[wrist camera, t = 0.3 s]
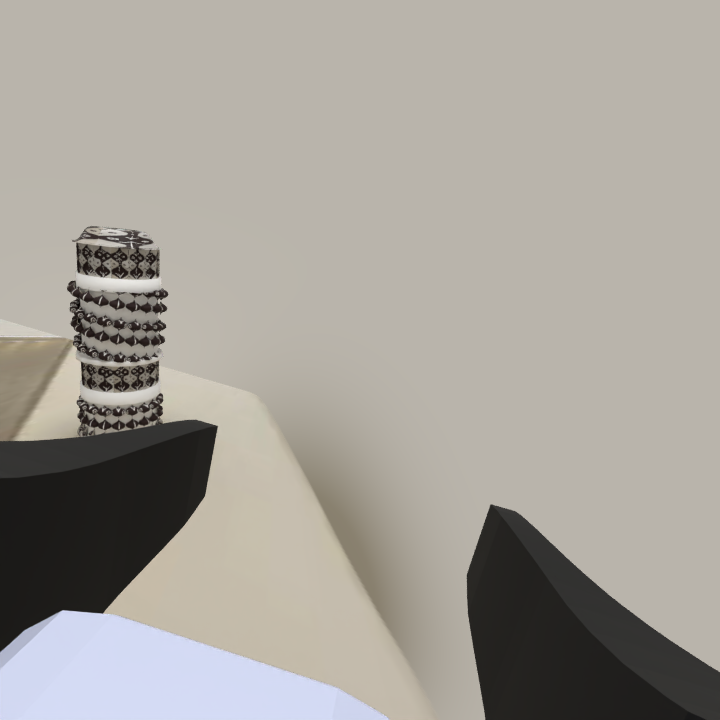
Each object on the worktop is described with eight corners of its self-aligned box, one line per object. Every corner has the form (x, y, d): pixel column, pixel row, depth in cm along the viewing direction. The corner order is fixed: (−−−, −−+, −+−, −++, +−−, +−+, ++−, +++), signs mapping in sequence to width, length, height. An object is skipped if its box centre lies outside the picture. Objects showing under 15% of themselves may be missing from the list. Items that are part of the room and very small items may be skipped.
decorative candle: (140, 478, 47) (139, 233, 41) (55, 466, 47) (40, 221, 41) (179, 441, 56) (183, 235, 50) (107, 431, 56) (102, 225, 50)
